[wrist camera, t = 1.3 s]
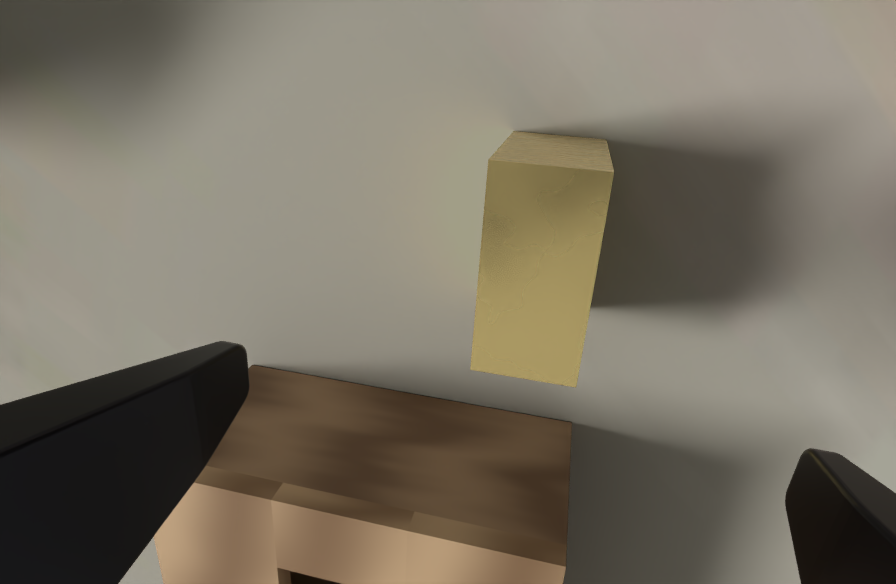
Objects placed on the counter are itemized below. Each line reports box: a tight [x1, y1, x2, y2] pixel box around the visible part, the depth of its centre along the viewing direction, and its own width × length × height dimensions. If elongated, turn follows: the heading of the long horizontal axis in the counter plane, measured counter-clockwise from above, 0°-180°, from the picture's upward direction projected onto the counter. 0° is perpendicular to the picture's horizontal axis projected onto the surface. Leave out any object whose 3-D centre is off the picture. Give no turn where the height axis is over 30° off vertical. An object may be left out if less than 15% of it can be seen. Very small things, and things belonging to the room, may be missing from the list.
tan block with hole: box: [154, 365, 572, 584], centre depth 23 cm, size 14×14×7 cm
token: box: [470, 131, 614, 387], centre depth 17 cm, size 3×6×6 cm, turn 177°
